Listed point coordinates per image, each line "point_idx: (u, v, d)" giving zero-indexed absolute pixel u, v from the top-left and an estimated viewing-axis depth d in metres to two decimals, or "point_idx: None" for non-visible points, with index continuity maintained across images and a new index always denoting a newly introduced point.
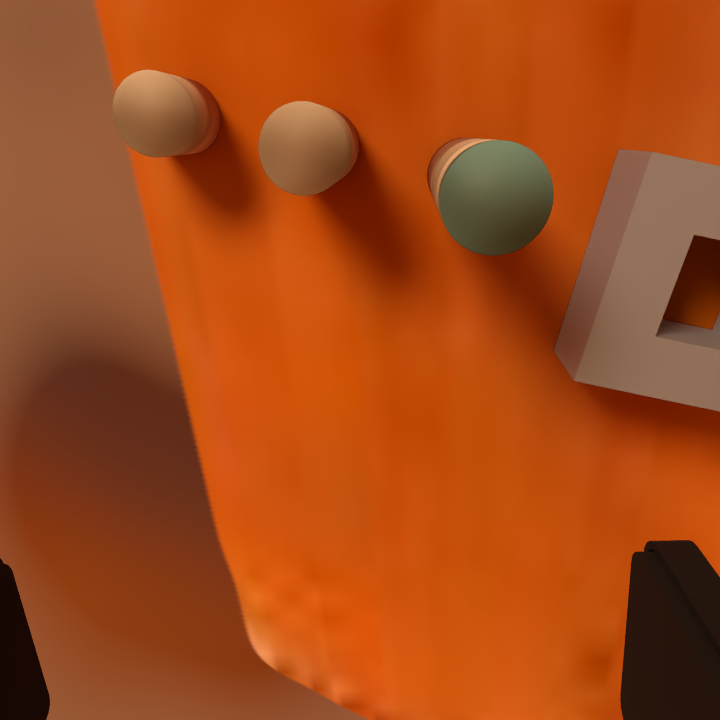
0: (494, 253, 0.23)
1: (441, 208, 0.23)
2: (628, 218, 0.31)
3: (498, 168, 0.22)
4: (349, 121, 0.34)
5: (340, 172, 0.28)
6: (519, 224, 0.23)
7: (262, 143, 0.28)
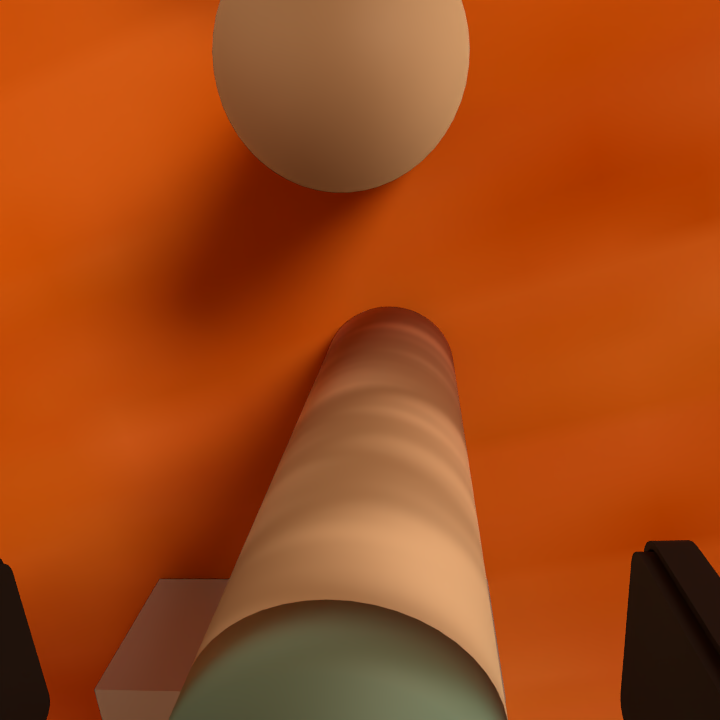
0: None
1: (245, 684, 0.06)
2: None
3: None
4: None
5: (309, 184, 0.10)
6: None
7: None
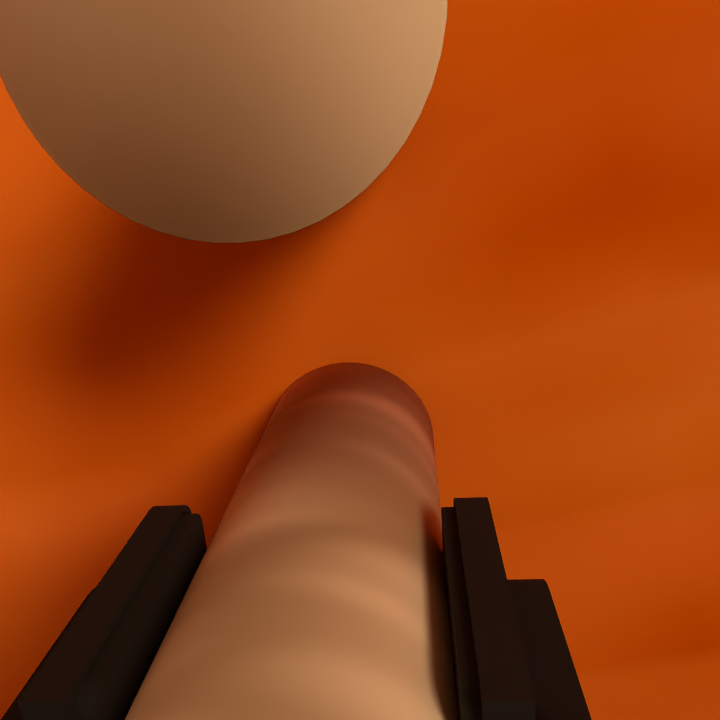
0: None
1: None
2: None
3: None
4: None
5: (172, 229, 0.06)
6: None
7: None
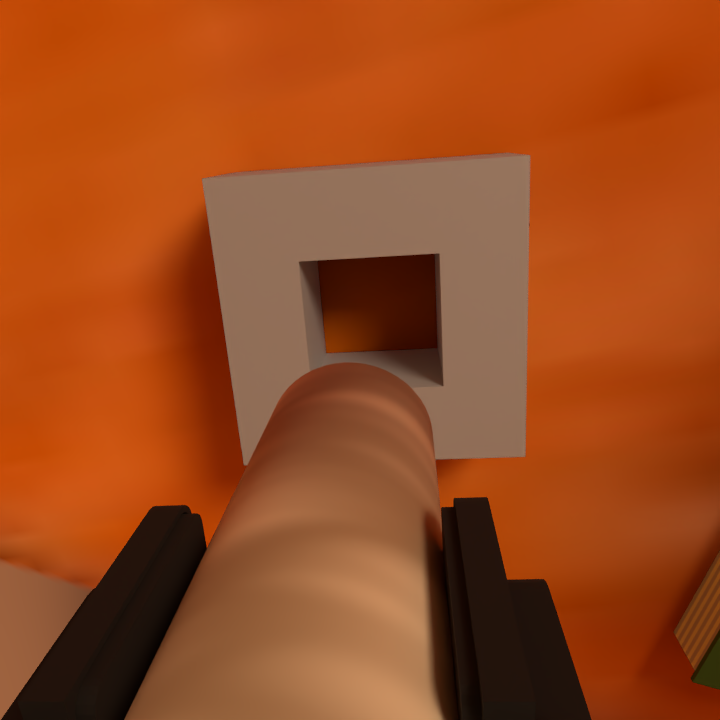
0: None
1: None
2: (439, 161, 0.23)
3: None
4: None
5: None
6: None
7: None
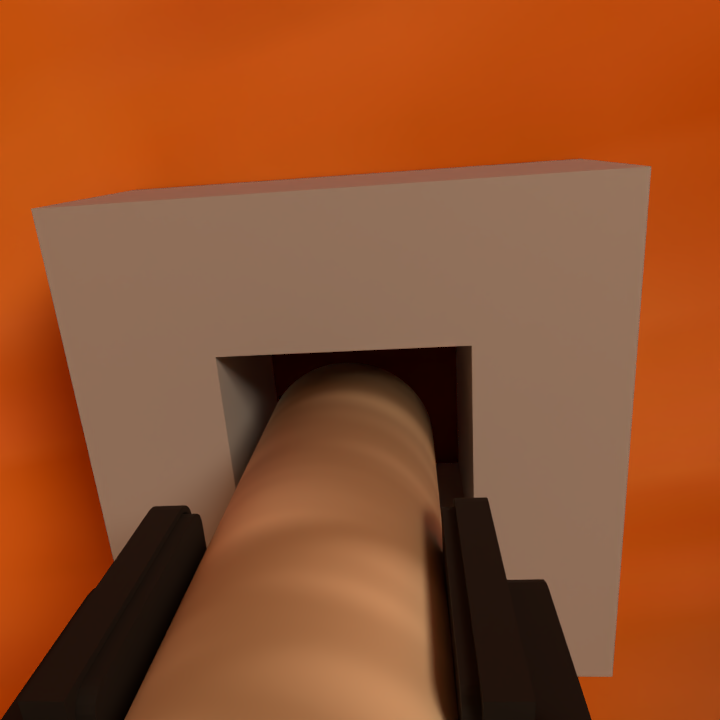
0: None
1: None
2: (474, 178, 0.12)
3: None
4: None
5: None
6: None
7: None
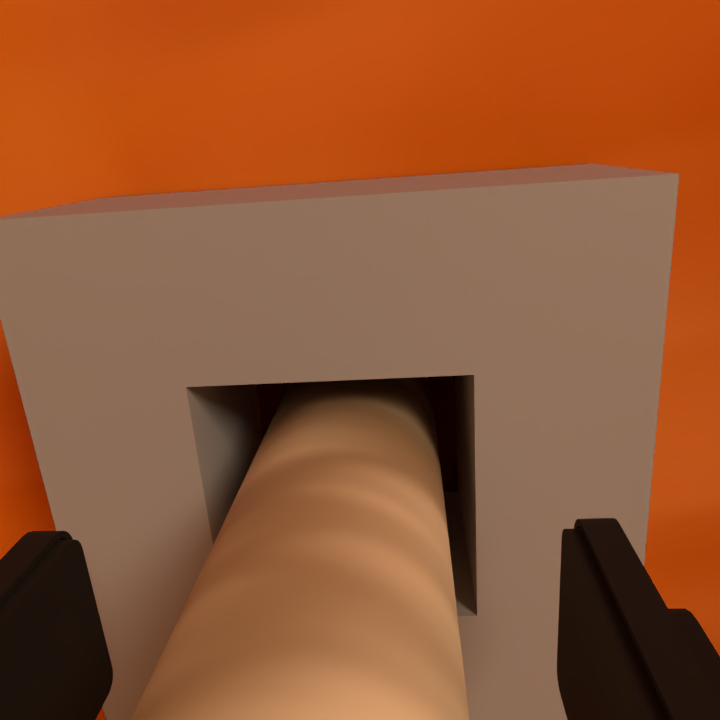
0: None
1: None
2: (477, 186, 0.11)
3: None
4: None
5: None
6: None
7: None
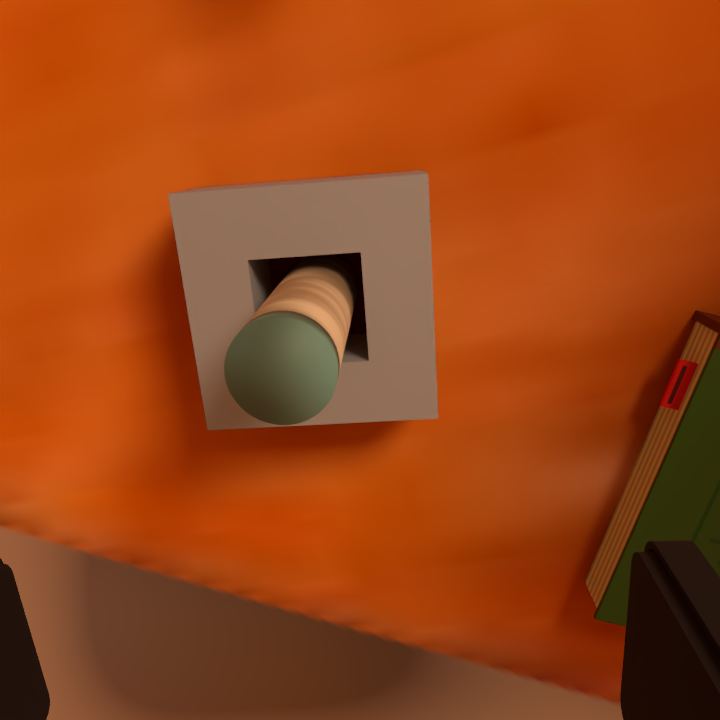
0: (229, 387, 0.22)
1: (254, 323, 0.22)
2: (357, 179, 0.29)
3: (309, 365, 0.22)
4: None
5: None
6: (265, 401, 0.22)
7: None
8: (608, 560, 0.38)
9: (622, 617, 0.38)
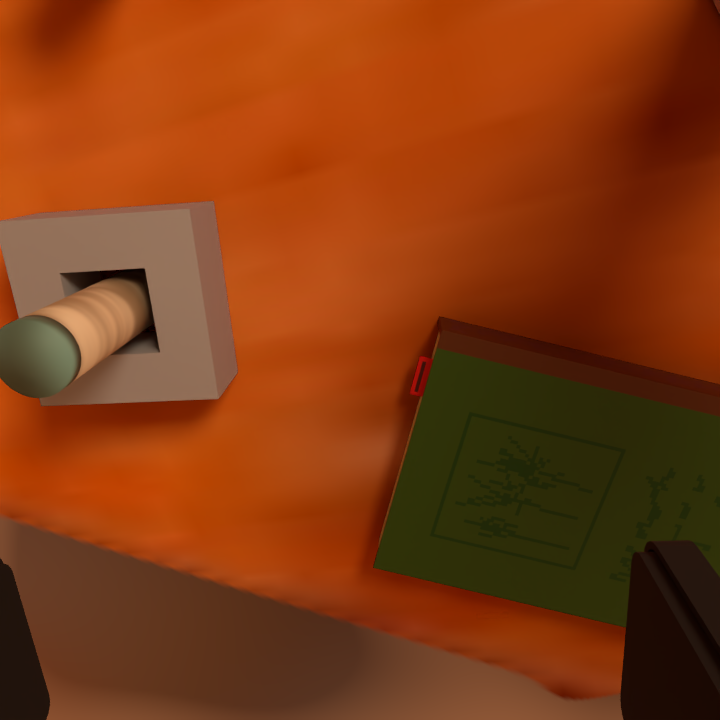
0: None
1: (8, 324, 0.30)
2: (137, 212, 0.37)
3: (50, 355, 0.30)
4: None
5: None
6: (23, 380, 0.31)
7: None
8: None
9: (395, 566, 0.46)
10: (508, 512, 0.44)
